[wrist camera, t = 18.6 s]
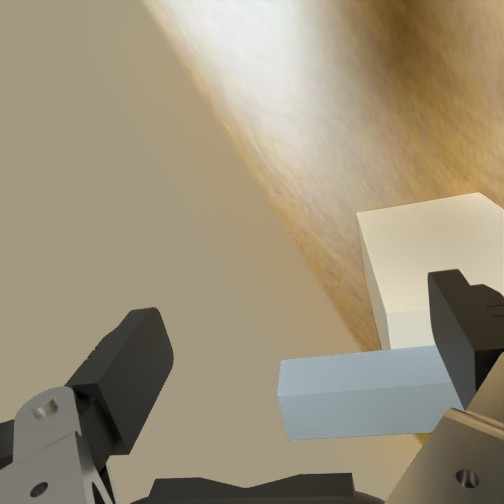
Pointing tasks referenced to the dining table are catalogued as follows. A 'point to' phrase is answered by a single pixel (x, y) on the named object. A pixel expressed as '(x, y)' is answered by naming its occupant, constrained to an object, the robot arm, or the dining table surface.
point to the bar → (365, 393)
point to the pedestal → (426, 259)
